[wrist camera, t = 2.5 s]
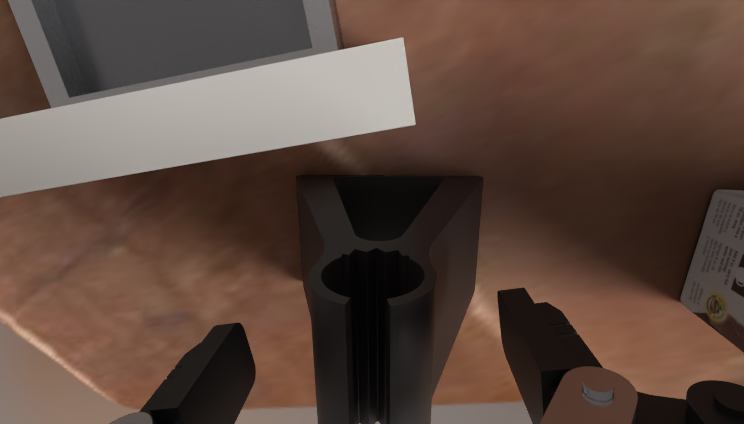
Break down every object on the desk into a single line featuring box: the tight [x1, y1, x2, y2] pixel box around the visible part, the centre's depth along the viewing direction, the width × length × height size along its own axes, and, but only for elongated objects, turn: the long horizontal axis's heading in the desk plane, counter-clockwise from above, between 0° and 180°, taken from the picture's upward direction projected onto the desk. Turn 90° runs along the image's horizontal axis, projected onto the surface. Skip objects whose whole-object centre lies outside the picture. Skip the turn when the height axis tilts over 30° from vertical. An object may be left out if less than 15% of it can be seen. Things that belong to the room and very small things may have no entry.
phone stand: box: [296, 175, 483, 424], centre depth 15 cm, size 9×6×12 cm, turn 90°
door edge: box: [0, 37, 416, 197], centre depth 15 cm, size 16×3×9 cm, turn 100°
